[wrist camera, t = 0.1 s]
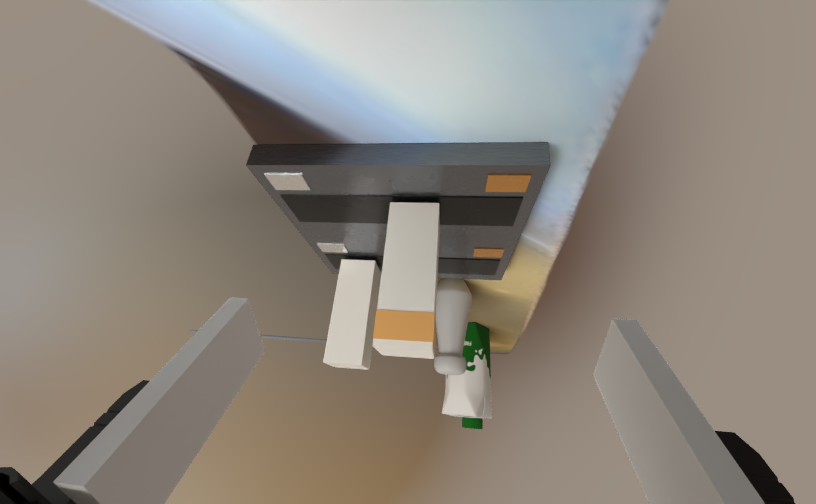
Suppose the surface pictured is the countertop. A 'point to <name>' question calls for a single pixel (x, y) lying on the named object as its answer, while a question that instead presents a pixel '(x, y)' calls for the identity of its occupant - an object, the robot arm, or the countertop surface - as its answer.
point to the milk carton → (471, 381)
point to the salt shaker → (452, 325)
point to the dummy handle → (353, 315)
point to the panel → (407, 197)
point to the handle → (409, 282)
